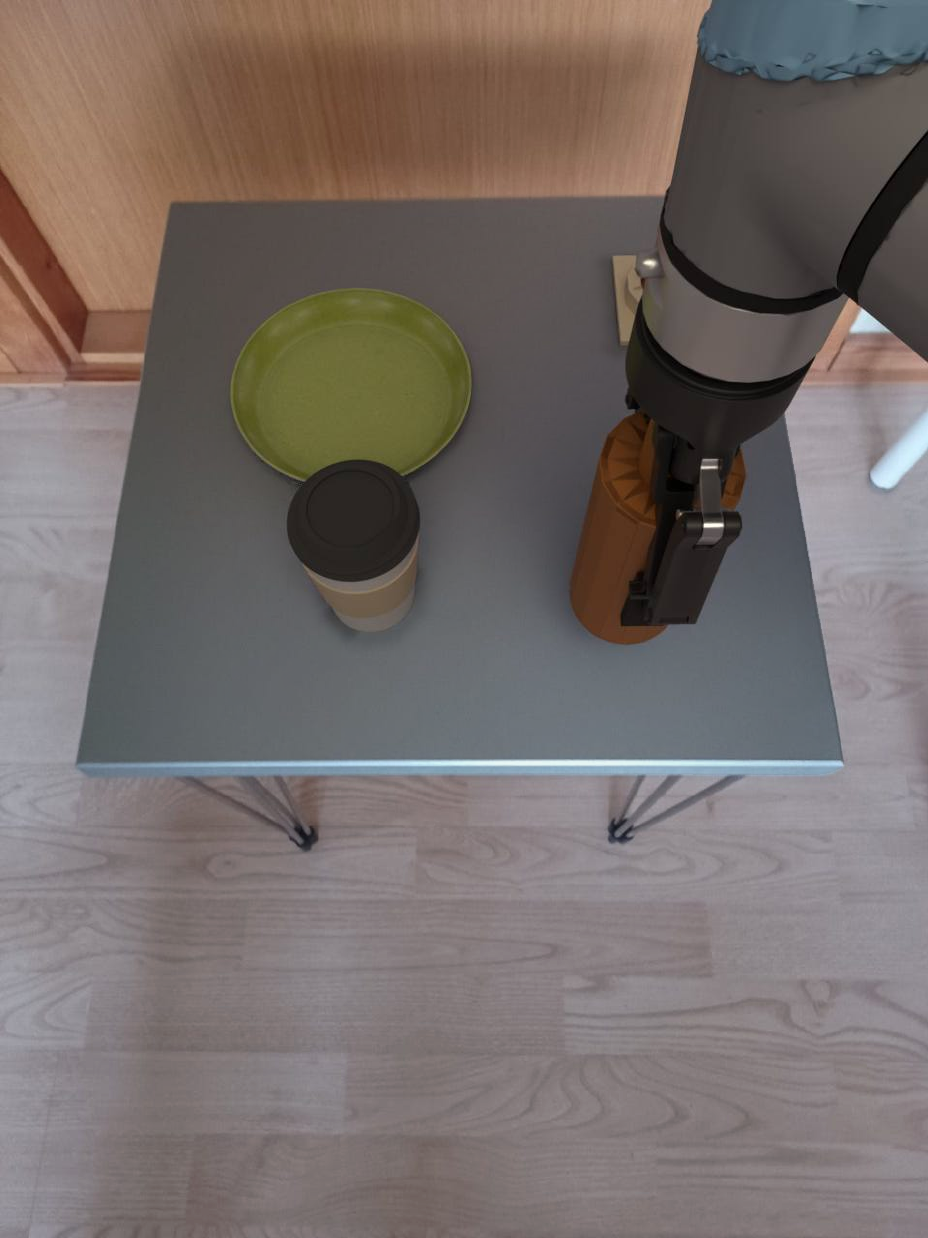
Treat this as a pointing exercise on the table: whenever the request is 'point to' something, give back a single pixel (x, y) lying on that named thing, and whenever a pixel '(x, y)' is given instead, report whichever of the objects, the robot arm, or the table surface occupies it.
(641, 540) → the brown bottle
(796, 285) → the robot arm
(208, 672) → the table surface
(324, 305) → the green plate
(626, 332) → the cream button plate
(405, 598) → the coffee cup
